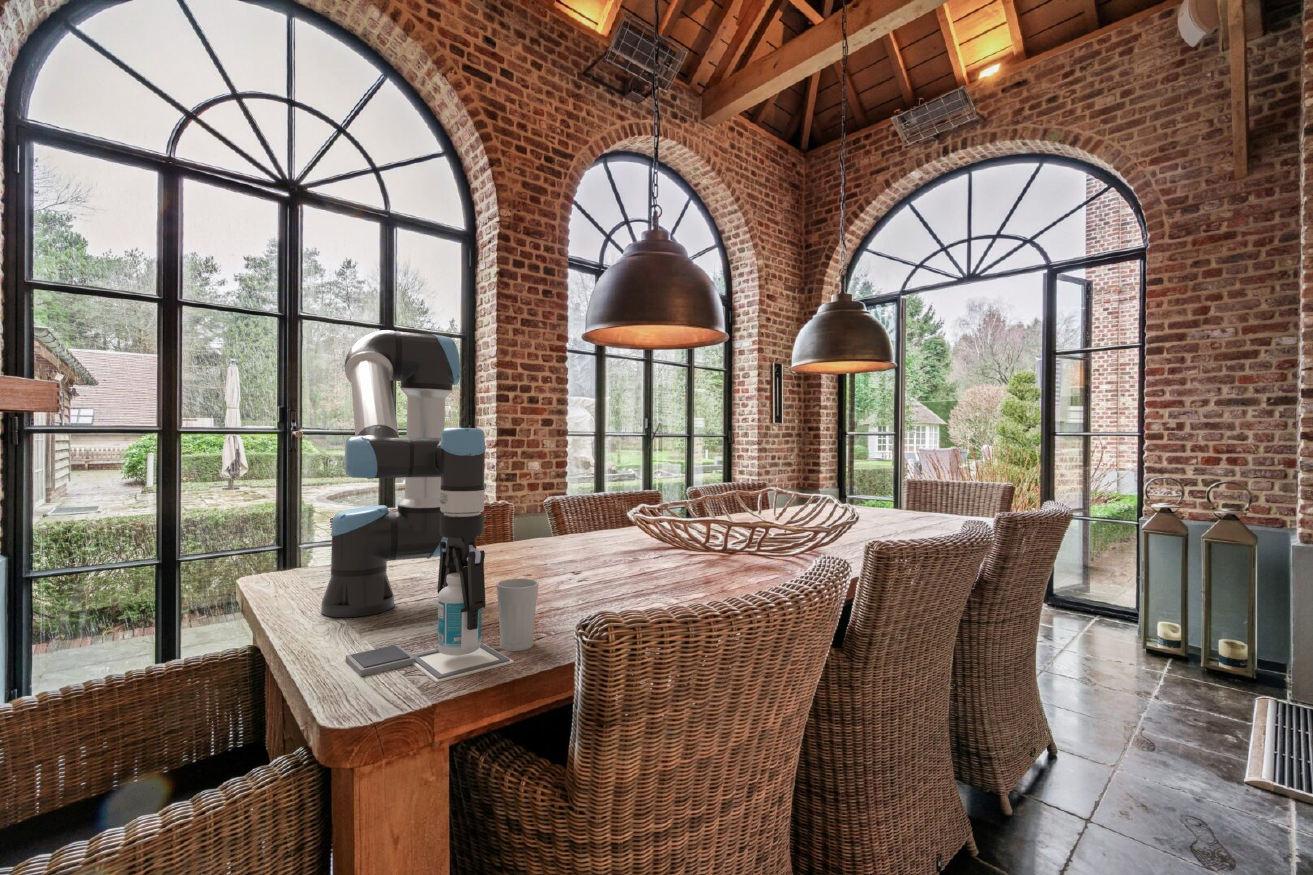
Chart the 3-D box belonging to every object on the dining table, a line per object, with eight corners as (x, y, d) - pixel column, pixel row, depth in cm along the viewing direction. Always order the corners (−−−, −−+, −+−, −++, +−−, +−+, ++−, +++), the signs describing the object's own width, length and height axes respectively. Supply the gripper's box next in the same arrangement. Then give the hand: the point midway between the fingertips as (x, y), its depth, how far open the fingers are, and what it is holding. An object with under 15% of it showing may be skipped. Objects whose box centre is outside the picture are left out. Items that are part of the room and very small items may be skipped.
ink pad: (345, 660, 107) (345, 654, 107) (397, 649, 113) (397, 643, 113) (360, 676, 100) (361, 669, 100) (415, 663, 106) (415, 656, 106)
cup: (499, 638, 121) (500, 578, 121) (539, 638, 121) (540, 578, 121) (491, 652, 113) (493, 588, 113) (535, 651, 113) (536, 588, 113)
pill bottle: (489, 645, 111) (490, 572, 111) (463, 659, 104) (465, 581, 104) (455, 640, 113) (456, 568, 113) (428, 653, 106) (429, 577, 106)
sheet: (405, 658, 109) (405, 655, 109) (478, 642, 118) (478, 639, 118) (436, 682, 98) (436, 679, 98) (513, 662, 108) (513, 659, 108)
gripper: (419, 509, 113) (417, 630, 113) (466, 521, 98) (463, 661, 98) (458, 506, 118) (456, 623, 118) (508, 518, 103) (505, 651, 103)
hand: (459, 640), depth 108 cm, fingers closed on pill bottle, 7 cm apart
